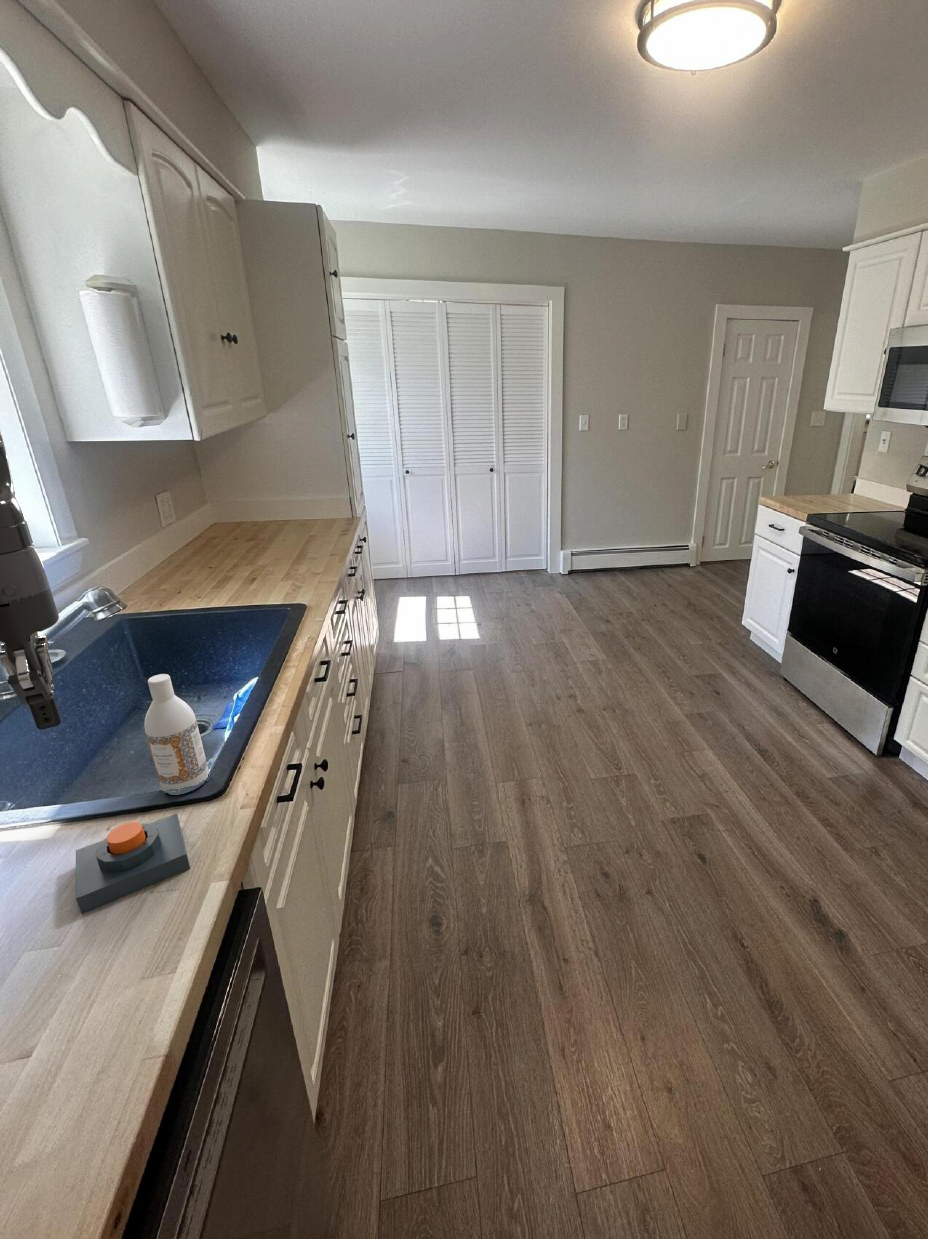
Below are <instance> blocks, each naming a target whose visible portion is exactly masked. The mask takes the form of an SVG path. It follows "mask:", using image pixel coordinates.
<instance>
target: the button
mask: <svg viewBox="0 0 928 1239" xmlns="http://www.w3.org/2000/svg"><path fill="white" fill-rule="evenodd" d="M142 824H143V823H141V822H138V821H129V822H125V823H123V824H120V825H118V826H116V827H114V828H113V829H112V830H110V831H109V832H108V834H107V835H106V837H105V838H106V840H107V843H108V846H109V849H110V852H111V853H112V854H114V855H121V854H125V853H128V852H130V851H133V850H135V849H136V848H138V847H139V846H141V845H142V844H143V843H144V842H145V839H146V837H145V833H144V830H143V827H142Z"/></svg>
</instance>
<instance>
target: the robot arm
mask: <svg viewBox="0 0 928 1239" xmlns="http://www.w3.org/2000/svg"><path fill="white" fill-rule="evenodd" d="M14 487H15V486H14V481H13V477H12V473H11V467H10V463H9V458H8V454H7V451H6V447H5V443H4V439H3V435H2V431H0V642H1V643H2V644H0V649H1V651H0V664H1V666H2V667H3V668H4V669H6V671H7V674H8V676H7V679H6V680H7V684H8V685H9V686H10V688H11V689H12V691H13V692H14V693H15V695H16V697H17V698H18V700H19V701H20V703H21V704H22V705H23V707H25V706H28V707H29V710H30V712H31V715H32V718H33V721H34V723H35V727H36V728H37V729H38V730H41V731H42V730H46V729H51V728H55V727H57V726H59V725H61V722H62V715H61V712H60V709H59V706H58V703H57V700H56V697H55V689H56V688H55V687H56V686H55V685H54V684H53V682H54V679H55V677H54V674H53V671H54V666H53V663H52V659H51V656H50V653H49V649H50V644H49V640H48V638H47V636H46V635H39V634H38V632H41V633H42V632H43V631H46V630H48V629H51V628H52V627H54V625H56V624H57V623H58V621H59V620H60V619H59V618H60V615H59V612H58V609H57V606H56V605H57V604H56V603H55V602H56V601H55V599H54V596H53V593H52V590H51V586H50V584H49V581H48V577H47V573H46V570H45V567H44V564H43V561H42V558H41V557H40V555H39V553H38V551H37V549H36V546H35V544H34V540H33V538H32V535H31V531H30V529H29V525H28V521H27V518H26V516H25V513H24V510H23V508H22V507H21V506H22V505H21V504H20V502H19V499H18V497H17V495H16V492H15V488H14Z"/></svg>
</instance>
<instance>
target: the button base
mask: <svg viewBox="0 0 928 1239" xmlns="http://www.w3.org/2000/svg"><path fill="white" fill-rule="evenodd" d="M141 824H142V827H143V830H144V833H145V837H146V839H145V842H144V843H143V844H142V845H141V846H139V847H138V848H136V849H135V850H133V851H130V852H128V853H125V854H121V855H114V854H112V853H111V852H110V849H109V846H108V843H107V840H106V838H107V837H105V838H104V839H103V840H100V841H97V842H94V843H92V844H89V845H86V846H83V847H80V848H78V849H76V850H75V900H76V903H77V906H78V908H79V911H80V913H81V915H84V914H87V913H89V912H91V911H94V910H96V909H98V908H101V907H103V906H105V905H108V904H110V903H113V902H115V901H117V900H120V899H122V898H124V897H127V896H130V895H132V894H134V893H137V892H139V891H142V890H144V889H146V888H148V887H151V886H153V885H156V884H158V883H160V882H163V881H165V880H168V879H170V878H173V877H175V876H176V875H180V874H182V873H184V872H187V871H189V870H191V865H190V862H189V861H190V860H189V857H188V852H187V848H186V844H185V839H184V835H183V831H182V827H181V823H180V819H179V815H178V813H177V812H176V813H174V814H170V815H168V816H165V817H163V818H160V819H157V820H155V821H152V822H149V823H148V822H147V823H141Z"/></svg>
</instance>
